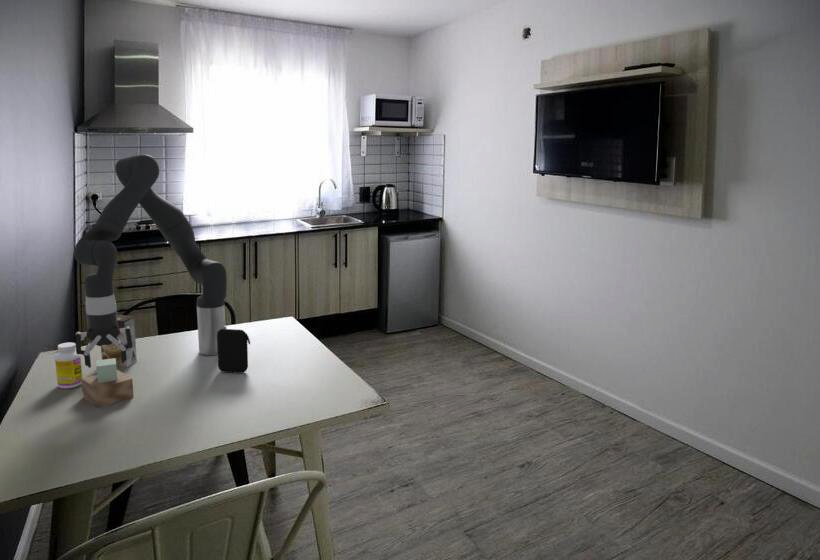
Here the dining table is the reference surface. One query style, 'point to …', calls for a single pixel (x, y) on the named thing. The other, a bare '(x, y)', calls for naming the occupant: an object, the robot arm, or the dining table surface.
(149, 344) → the dining table surface
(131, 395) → the walnut block
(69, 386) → the supplement bottle
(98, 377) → the sage cube
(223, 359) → the carrying case or bag
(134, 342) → the coffee box
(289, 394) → the dining table surface
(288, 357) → the dining table surface
